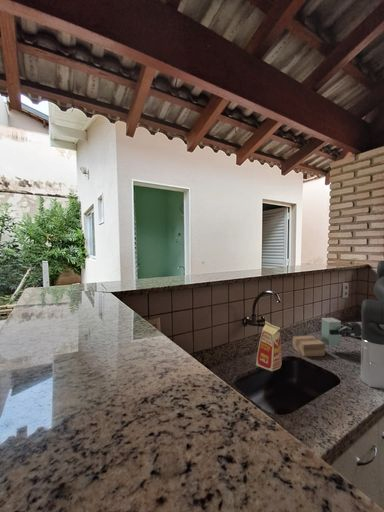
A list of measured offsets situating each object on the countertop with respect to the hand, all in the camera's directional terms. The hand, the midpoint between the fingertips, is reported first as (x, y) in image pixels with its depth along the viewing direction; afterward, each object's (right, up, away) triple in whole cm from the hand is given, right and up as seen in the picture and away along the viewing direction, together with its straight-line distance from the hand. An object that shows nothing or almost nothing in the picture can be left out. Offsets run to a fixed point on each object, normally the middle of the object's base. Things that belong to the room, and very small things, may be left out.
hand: (326, 330), depth 122 cm
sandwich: (-9, -11, +1) cm, 14 cm away
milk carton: (-33, -12, -13) cm, 38 cm away
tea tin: (+2, -7, 0) cm, 7 cm away
